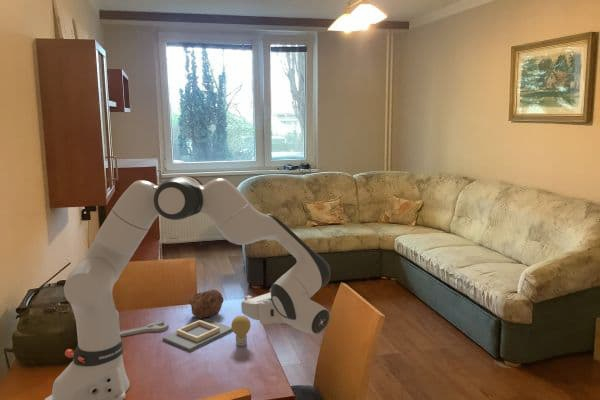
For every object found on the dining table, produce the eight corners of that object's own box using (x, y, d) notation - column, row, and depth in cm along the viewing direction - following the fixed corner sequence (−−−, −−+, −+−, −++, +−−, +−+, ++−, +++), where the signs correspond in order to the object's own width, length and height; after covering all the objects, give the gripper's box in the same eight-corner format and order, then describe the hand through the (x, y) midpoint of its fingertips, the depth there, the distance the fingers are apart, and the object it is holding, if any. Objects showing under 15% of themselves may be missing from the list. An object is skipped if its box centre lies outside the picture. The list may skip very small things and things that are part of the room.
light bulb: (249, 348, 170) (249, 320, 168) (230, 348, 170) (229, 320, 168) (251, 340, 176) (251, 312, 175) (233, 340, 177) (232, 312, 175)
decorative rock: (221, 307, 205) (220, 283, 203) (226, 318, 195) (225, 293, 193) (188, 311, 201) (187, 287, 199) (191, 323, 191) (190, 297, 189)
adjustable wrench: (94, 343, 176) (93, 338, 176) (94, 335, 182) (93, 331, 181) (168, 331, 185) (168, 326, 184) (166, 324, 191) (166, 319, 190)
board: (189, 351, 168) (189, 344, 168) (162, 340, 177) (162, 333, 176) (233, 330, 184) (232, 324, 184) (206, 320, 192) (206, 314, 192)
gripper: (312, 287, 156) (285, 276, 167) (257, 305, 143) (231, 292, 154) (313, 306, 157) (285, 295, 168) (258, 326, 145) (232, 312, 155)
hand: (259, 294), depth 161 cm, fingers open, 8 cm apart
